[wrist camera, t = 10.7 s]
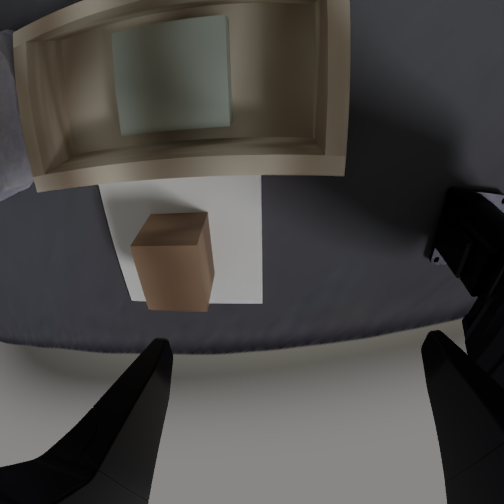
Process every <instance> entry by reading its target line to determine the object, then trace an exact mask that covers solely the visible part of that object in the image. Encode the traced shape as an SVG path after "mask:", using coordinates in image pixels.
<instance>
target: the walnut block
mask: <svg viewBox="0 0 504 504" xmlns="http://www.w3.org/2000/svg"><path fill="white" fill-rule="evenodd" d="M130 248H131V252H132V255H133V259H134V263H135V266H136V270H137V273H138V276H139V280H140V283H141V286H142V290H143V293H144V296H145V299H146V302H147V305H148V308H149V310H168V311H199V312H207V311H208V305H209V300H210V295H211V290H212V285H213V280H214V275H215V271H214V263H213V254H212V246H211V237H210V228H209V219H208V212H197V213H167V214H150V216H149V217H148V219H147V220H146V222H145V223H144V225H143V226H142V228H141V230H140V231H139V233H138V234H137V236H136V237H135V239H134V241H133V242H132V244H131V246H130Z"/></svg>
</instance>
